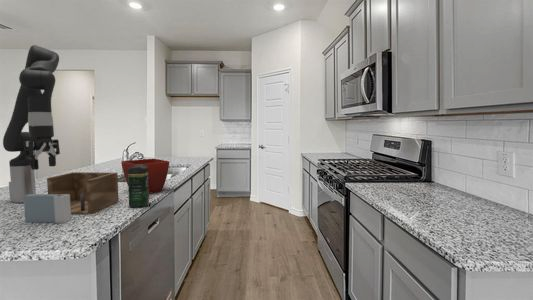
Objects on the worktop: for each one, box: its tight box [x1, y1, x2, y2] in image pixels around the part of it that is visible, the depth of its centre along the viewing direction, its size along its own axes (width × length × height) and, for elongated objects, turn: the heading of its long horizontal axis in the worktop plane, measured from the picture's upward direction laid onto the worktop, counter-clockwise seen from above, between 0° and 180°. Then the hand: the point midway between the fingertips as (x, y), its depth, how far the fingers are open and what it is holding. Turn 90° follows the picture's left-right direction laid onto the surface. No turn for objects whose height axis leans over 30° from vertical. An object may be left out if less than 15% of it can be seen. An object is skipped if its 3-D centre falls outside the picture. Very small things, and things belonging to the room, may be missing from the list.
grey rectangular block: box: [23, 193, 72, 224], centre depth 117 cm, size 16×4×10 cm, turn 87°
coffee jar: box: [128, 165, 150, 209], centre depth 139 cm, size 10×8×19 cm
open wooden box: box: [46, 171, 119, 215], centre depth 136 cm, size 22×21×14 cm
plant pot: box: [121, 158, 170, 194], centre depth 168 cm, size 19×19×17 cm
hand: (44, 167), depth 116 cm, fingers open, 8 cm apart
